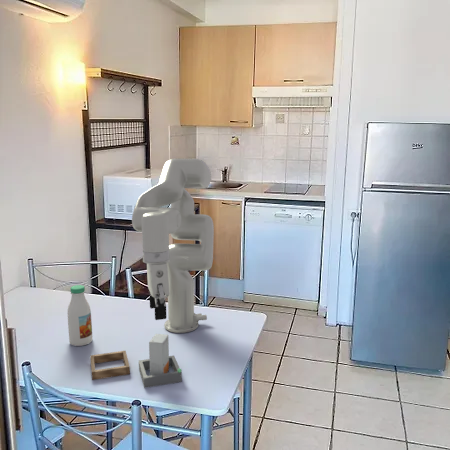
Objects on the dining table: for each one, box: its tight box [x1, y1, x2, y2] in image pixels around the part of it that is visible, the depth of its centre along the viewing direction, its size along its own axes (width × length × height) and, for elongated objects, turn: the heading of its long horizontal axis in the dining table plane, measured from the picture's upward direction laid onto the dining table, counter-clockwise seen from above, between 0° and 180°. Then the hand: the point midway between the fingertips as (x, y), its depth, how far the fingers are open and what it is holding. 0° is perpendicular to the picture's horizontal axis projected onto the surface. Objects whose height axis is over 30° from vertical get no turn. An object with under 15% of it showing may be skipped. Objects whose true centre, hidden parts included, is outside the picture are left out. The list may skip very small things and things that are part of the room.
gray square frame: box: [138, 355, 183, 389], centre depth 144 cm, size 11×11×4 cm
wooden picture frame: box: [89, 350, 131, 381], centre depth 149 cm, size 11×11×2 cm
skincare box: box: [148, 333, 170, 376], centre depth 144 cm, size 6×4×12 cm
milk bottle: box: [67, 284, 93, 347], centre depth 165 cm, size 8×8×20 cm
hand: (157, 313), depth 141 cm, fingers open, 8 cm apart
